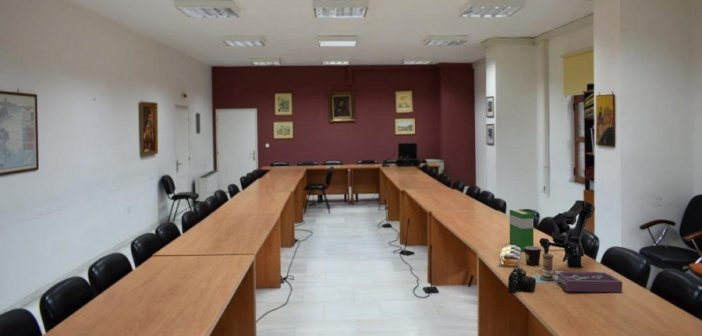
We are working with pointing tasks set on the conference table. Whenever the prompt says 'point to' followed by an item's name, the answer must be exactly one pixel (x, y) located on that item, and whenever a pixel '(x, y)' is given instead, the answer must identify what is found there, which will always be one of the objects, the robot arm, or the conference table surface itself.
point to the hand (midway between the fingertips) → (554, 259)
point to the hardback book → (521, 229)
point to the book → (588, 281)
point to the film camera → (520, 281)
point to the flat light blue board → (538, 280)
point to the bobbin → (547, 268)
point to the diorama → (510, 253)
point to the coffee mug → (532, 255)
